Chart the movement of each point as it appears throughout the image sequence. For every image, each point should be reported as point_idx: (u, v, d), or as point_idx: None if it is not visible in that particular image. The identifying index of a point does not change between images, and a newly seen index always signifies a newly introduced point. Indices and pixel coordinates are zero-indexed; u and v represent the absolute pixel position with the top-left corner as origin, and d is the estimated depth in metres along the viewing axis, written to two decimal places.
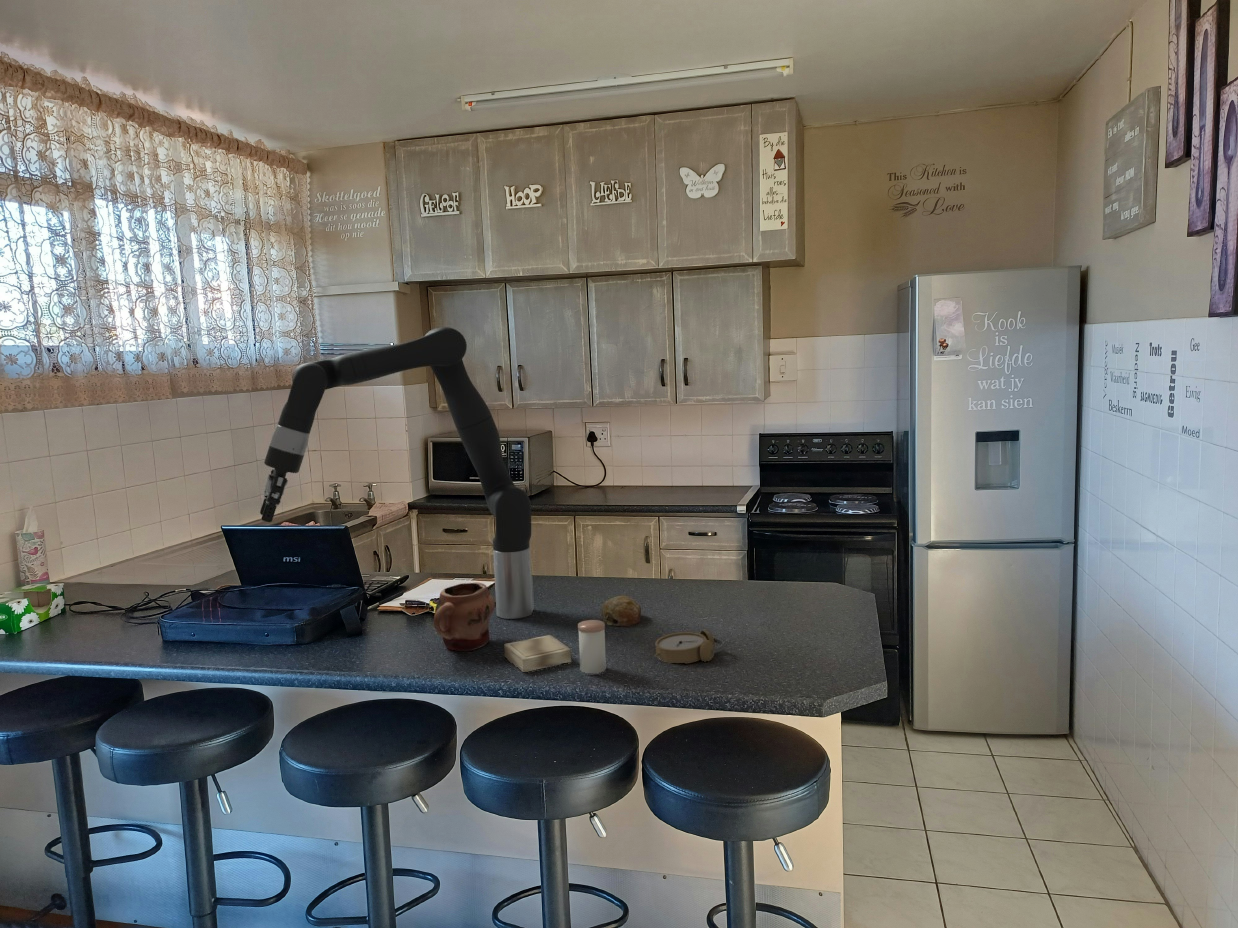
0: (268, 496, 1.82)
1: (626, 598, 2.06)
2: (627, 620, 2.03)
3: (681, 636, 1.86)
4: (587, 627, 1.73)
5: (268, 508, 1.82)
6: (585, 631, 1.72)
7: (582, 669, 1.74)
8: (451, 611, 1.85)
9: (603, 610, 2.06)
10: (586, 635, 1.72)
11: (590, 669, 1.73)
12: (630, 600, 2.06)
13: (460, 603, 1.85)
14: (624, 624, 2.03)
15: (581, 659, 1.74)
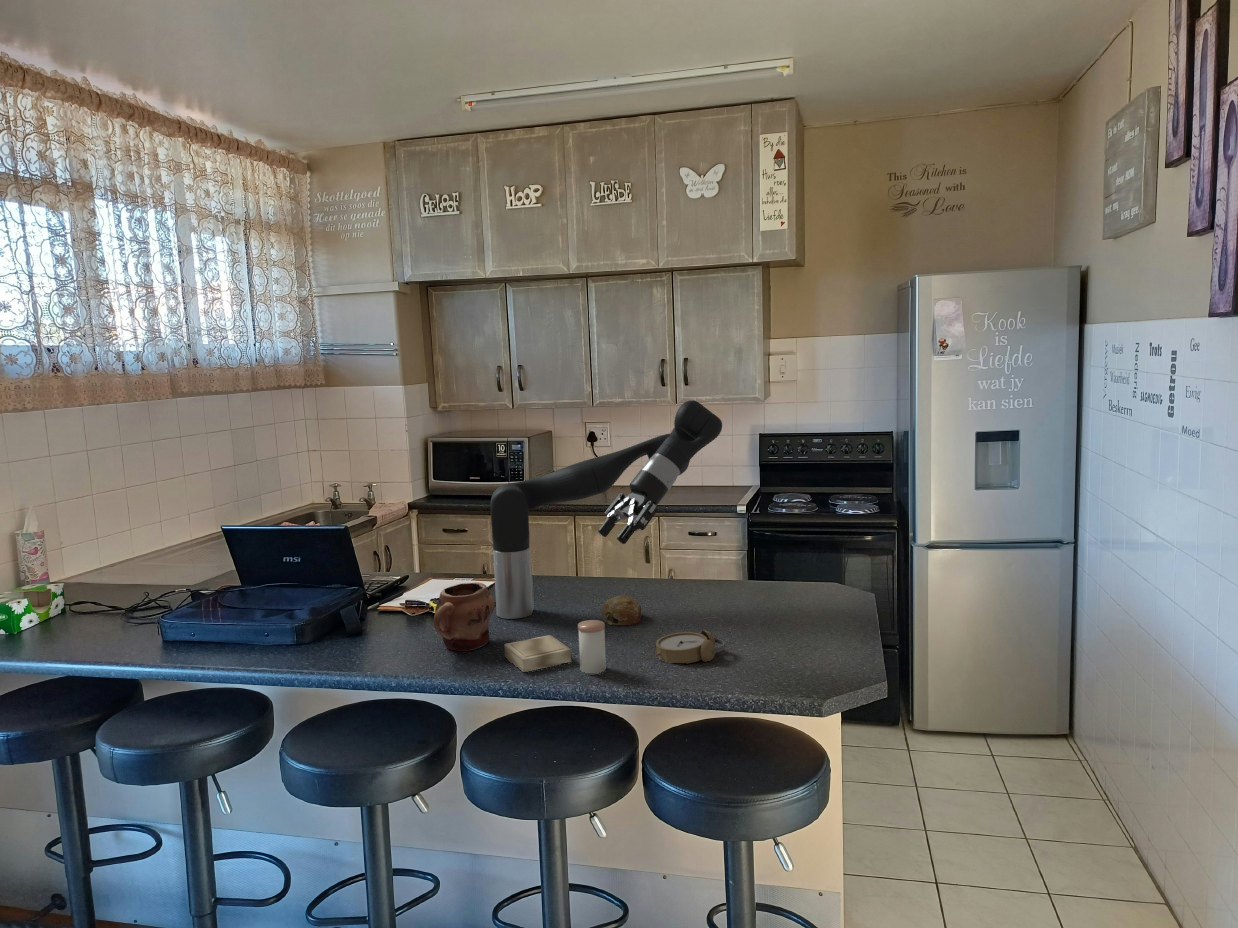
0: (633, 518, 1.75)
1: (626, 598, 2.06)
2: (628, 619, 2.03)
3: (682, 636, 1.86)
4: (587, 627, 1.73)
5: (629, 530, 1.75)
6: (585, 631, 1.72)
7: (582, 669, 1.74)
8: (451, 611, 1.85)
9: (603, 610, 2.06)
10: (586, 635, 1.72)
11: (590, 669, 1.73)
12: (630, 600, 2.06)
13: (460, 603, 1.85)
14: (624, 623, 2.03)
15: (581, 659, 1.74)
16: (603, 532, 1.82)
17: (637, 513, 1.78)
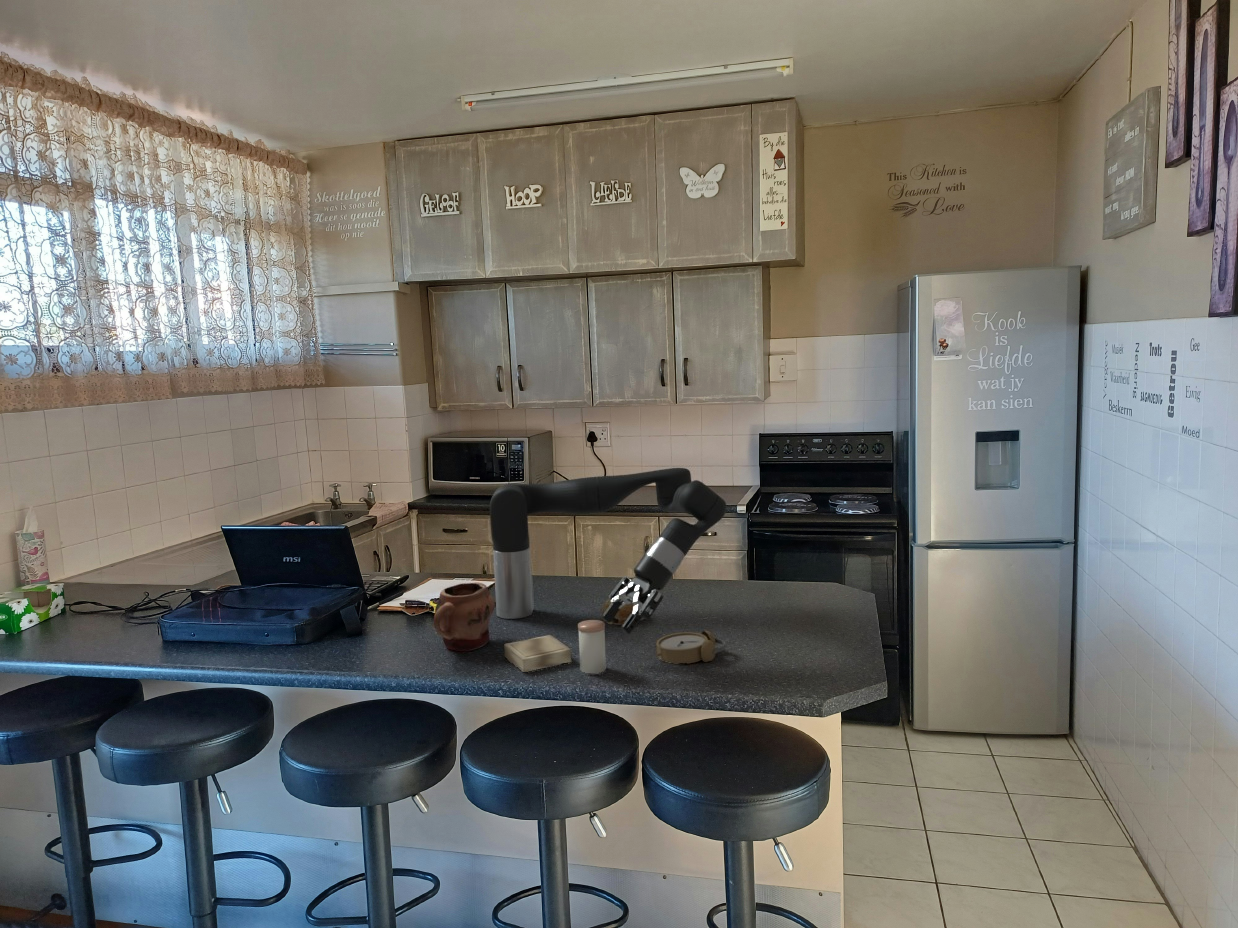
0: (637, 607, 1.73)
1: None
2: None
3: (682, 636, 1.86)
4: (587, 627, 1.73)
5: (634, 619, 1.72)
6: (585, 631, 1.72)
7: (582, 669, 1.74)
8: (451, 611, 1.85)
9: (604, 609, 2.06)
10: (586, 635, 1.72)
11: (590, 669, 1.73)
12: None
13: (460, 603, 1.85)
14: None
15: (581, 659, 1.74)
16: (607, 618, 1.80)
17: (642, 600, 1.75)
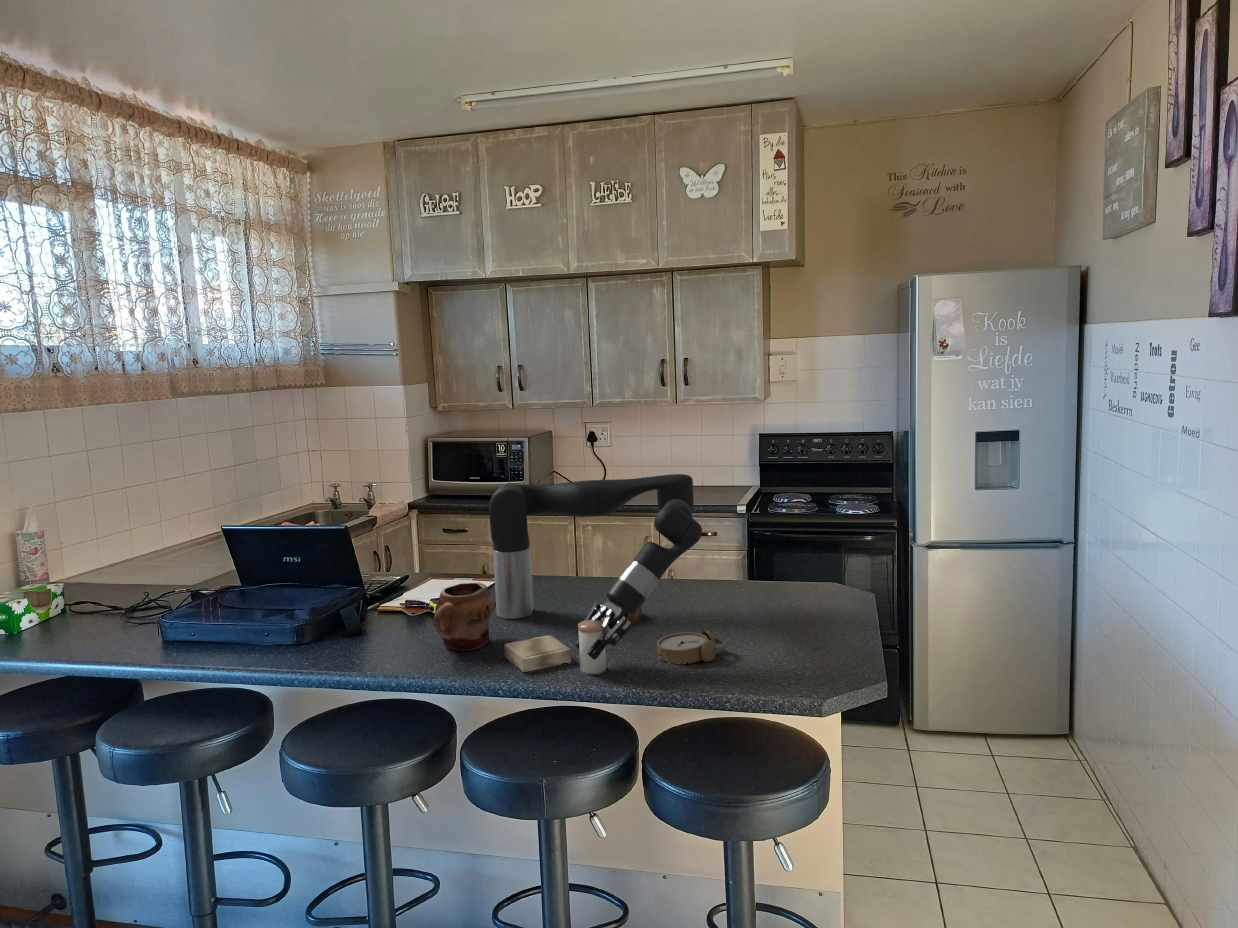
0: (604, 633, 1.72)
1: None
2: (628, 619, 2.03)
3: (683, 636, 1.86)
4: (587, 627, 1.73)
5: (600, 645, 1.71)
6: (585, 631, 1.72)
7: (582, 669, 1.74)
8: (451, 611, 1.85)
9: None
10: (586, 634, 1.72)
11: (590, 669, 1.73)
12: None
13: (460, 603, 1.85)
14: None
15: (581, 659, 1.74)
16: None
17: (612, 626, 1.74)
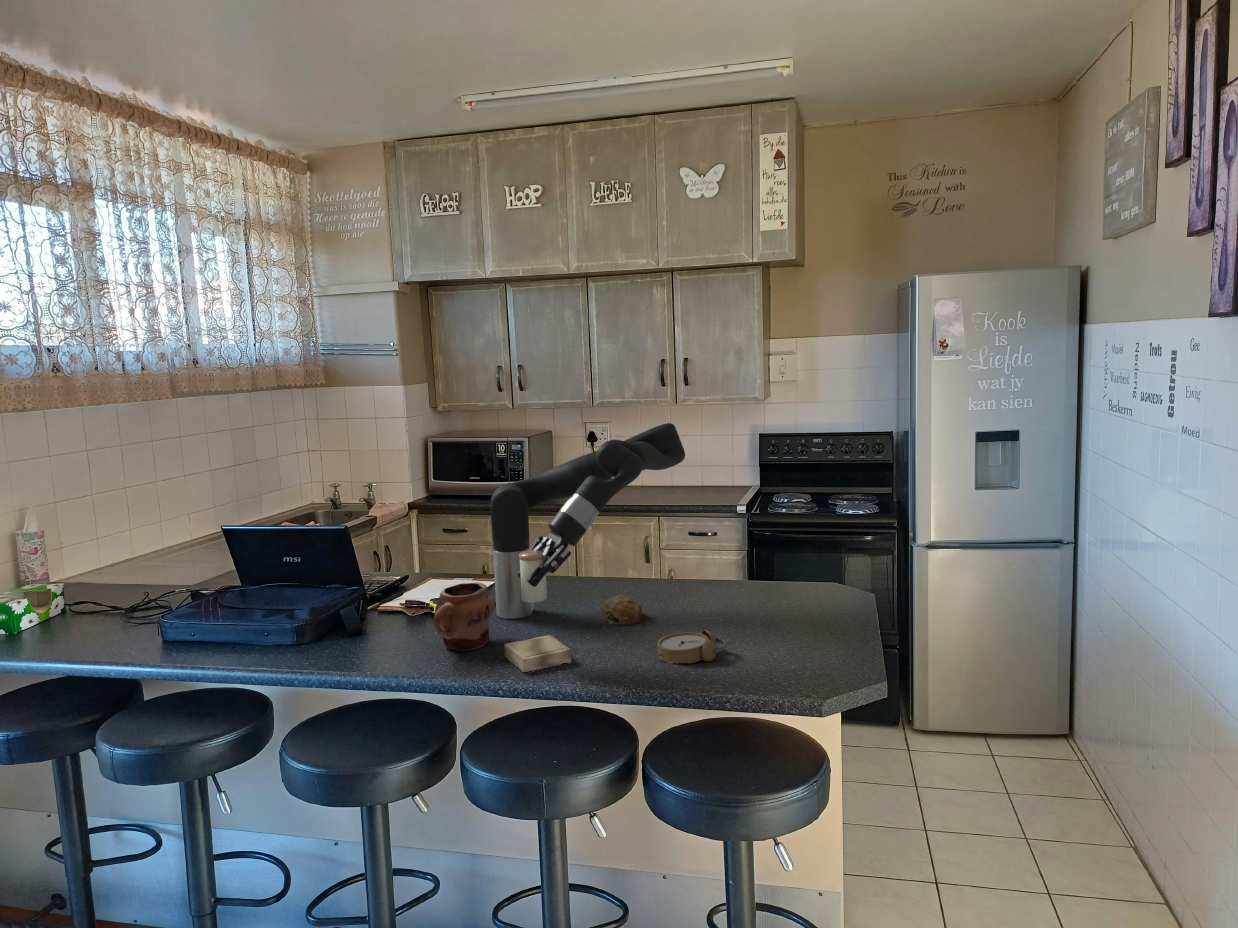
0: (544, 561, 1.77)
1: (627, 597, 2.07)
2: (628, 618, 2.03)
3: (683, 636, 1.86)
4: (527, 555, 1.78)
5: (539, 573, 1.76)
6: (525, 559, 1.77)
7: (523, 597, 1.79)
8: (451, 611, 1.85)
9: (604, 609, 2.07)
10: (526, 562, 1.77)
11: (530, 596, 1.78)
12: (631, 599, 2.07)
13: (460, 603, 1.85)
14: (625, 623, 2.04)
15: (522, 587, 1.79)
16: None
17: (552, 555, 1.79)
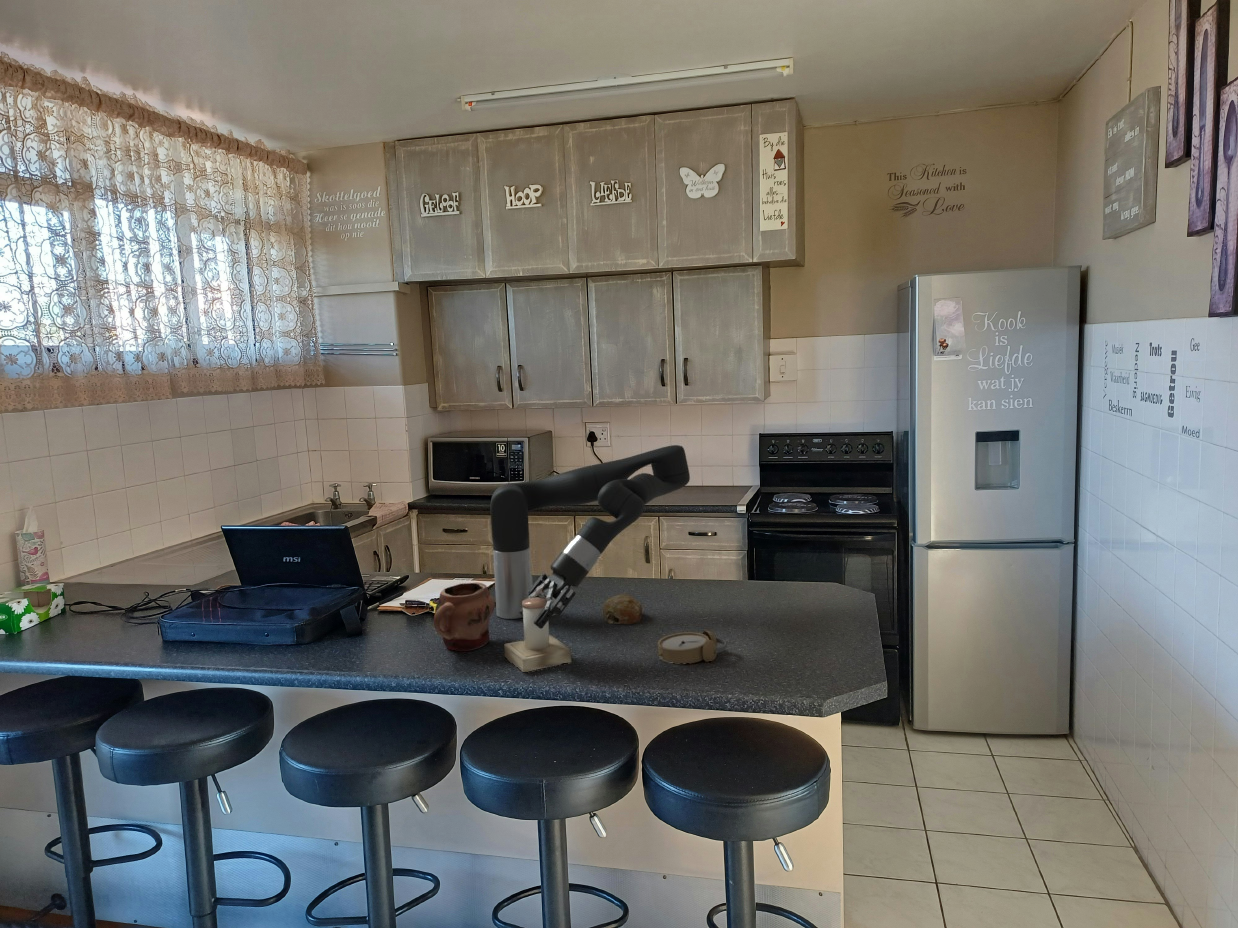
0: (550, 603, 1.77)
1: (627, 597, 2.07)
2: (629, 618, 2.04)
3: (683, 636, 1.86)
4: (530, 603, 1.79)
5: (546, 614, 1.77)
6: (528, 607, 1.79)
7: (526, 644, 1.81)
8: (451, 611, 1.85)
9: (604, 609, 2.07)
10: (529, 611, 1.79)
11: (533, 644, 1.80)
12: (631, 599, 2.07)
13: (460, 603, 1.85)
14: (625, 622, 2.04)
15: (525, 635, 1.81)
16: None
17: (556, 596, 1.80)
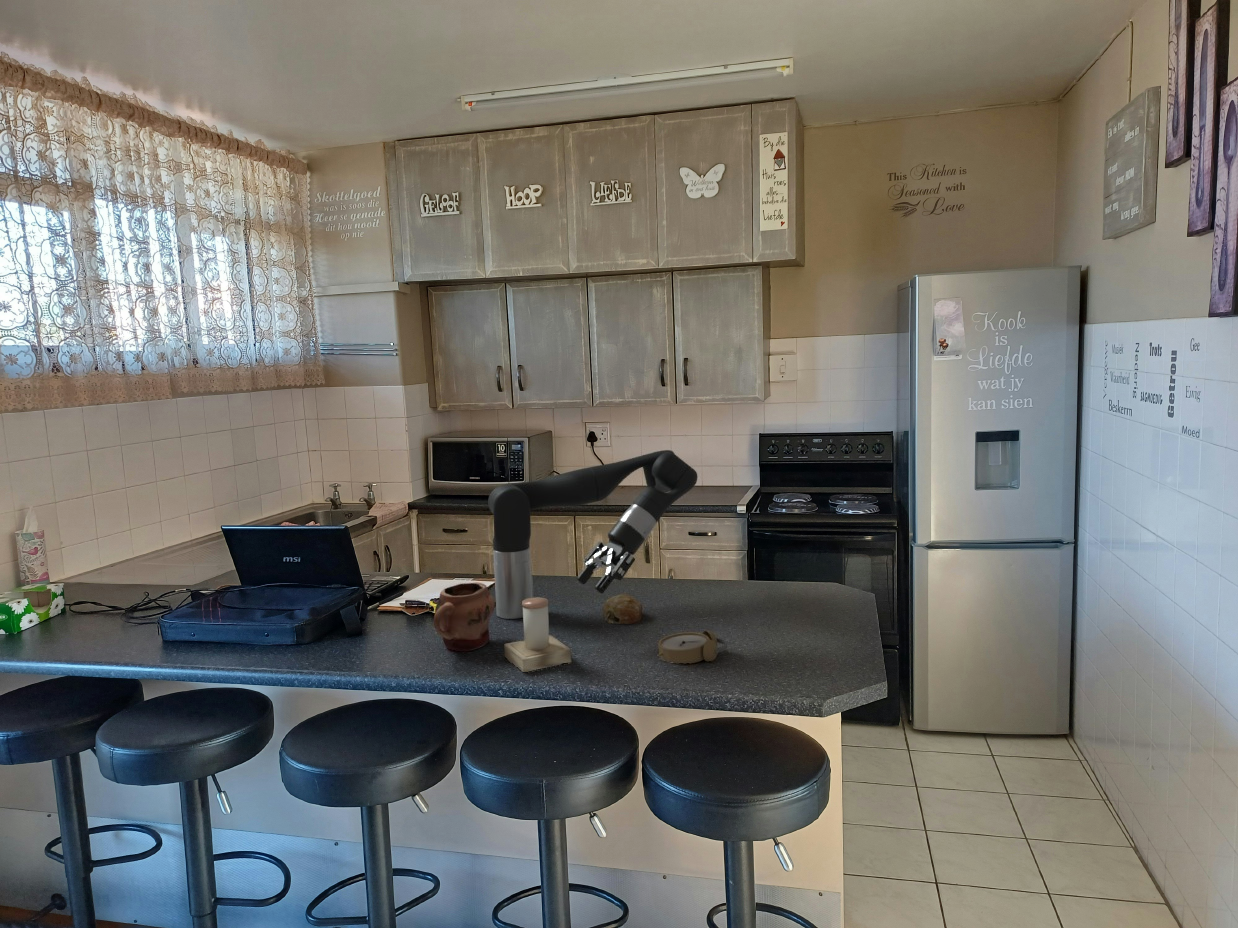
0: (610, 568, 1.82)
1: (627, 596, 2.07)
2: (629, 618, 2.04)
3: (684, 636, 1.86)
4: (530, 603, 1.79)
5: (607, 580, 1.81)
6: (528, 607, 1.79)
7: (526, 644, 1.81)
8: (451, 611, 1.85)
9: (604, 608, 2.07)
10: (529, 611, 1.79)
11: (533, 644, 1.80)
12: (631, 598, 2.07)
13: (460, 603, 1.85)
14: (625, 622, 2.04)
15: (525, 635, 1.81)
16: (582, 580, 1.89)
17: (615, 563, 1.85)
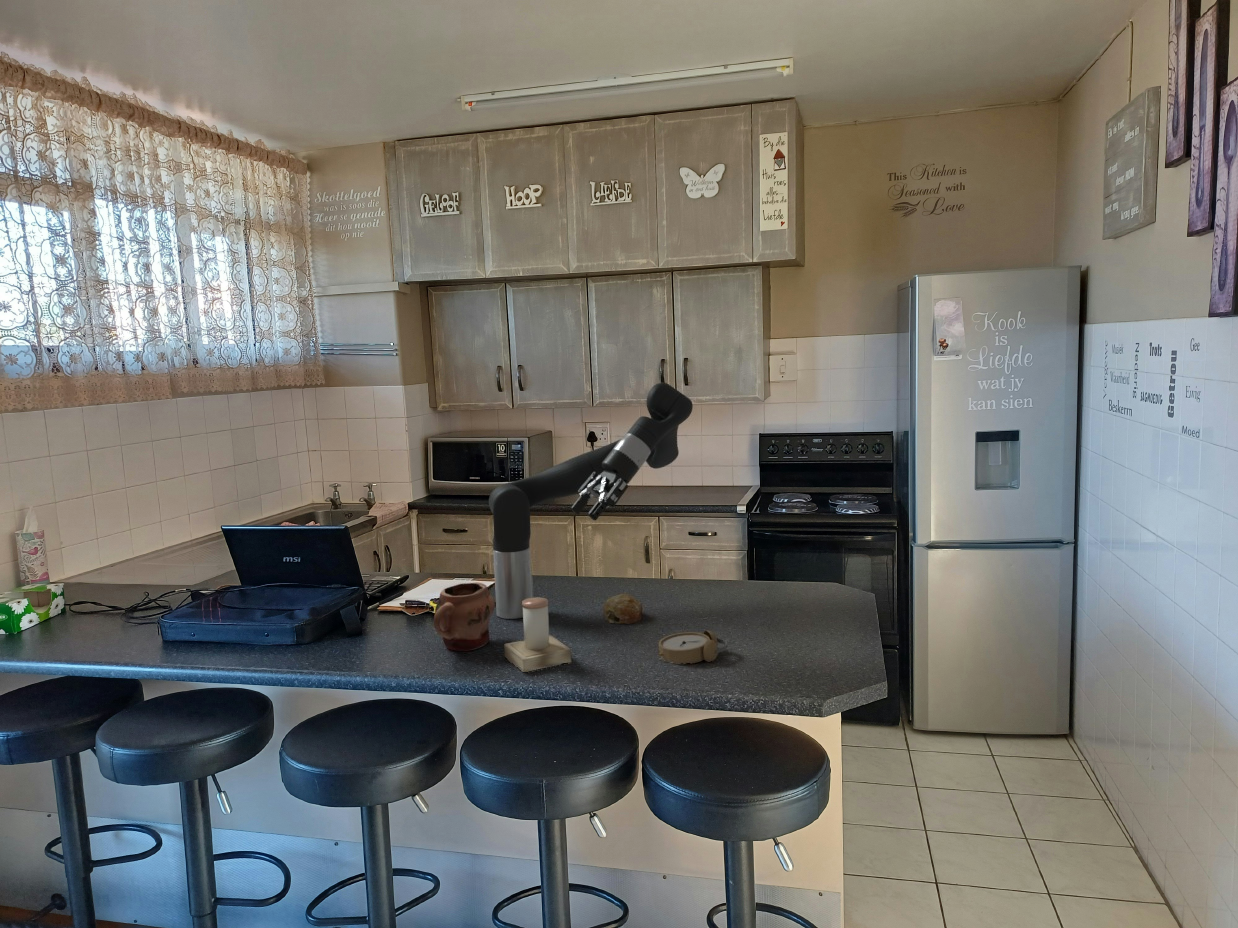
0: (603, 495, 1.81)
1: (627, 596, 2.08)
2: (629, 618, 2.04)
3: (684, 636, 1.86)
4: (530, 603, 1.79)
5: (600, 506, 1.80)
6: (528, 607, 1.79)
7: (526, 644, 1.81)
8: (451, 611, 1.85)
9: (605, 608, 2.07)
10: (529, 611, 1.79)
11: (533, 644, 1.80)
12: (631, 598, 2.07)
13: (460, 603, 1.85)
14: (626, 622, 2.04)
15: (525, 635, 1.81)
16: (576, 509, 1.88)
17: (608, 491, 1.84)
